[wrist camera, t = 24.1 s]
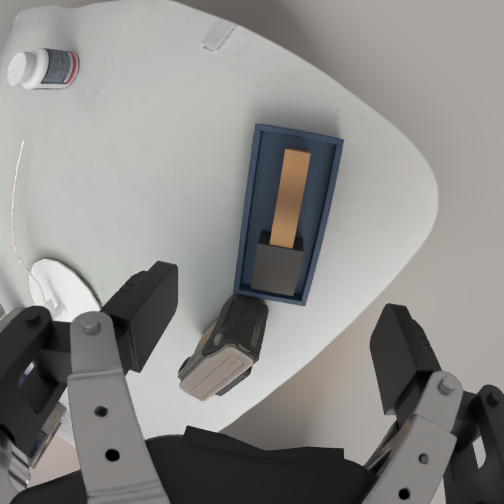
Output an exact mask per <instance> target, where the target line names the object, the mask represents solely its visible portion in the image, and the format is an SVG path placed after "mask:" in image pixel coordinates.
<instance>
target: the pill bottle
mask: <svg viewBox="0 0 504 504" xmlns="http://www.w3.org/2000/svg"><path fill="white" fill-rule="evenodd" d="M77 71H78V58H77V56H76V55H75V54H74V53H72V52H67V51H60V50H54V49H46V48H37V49H35V50H33V51H31V52H19V53H18V54H16V55H15V56H14V58H13V59H12V61H11V63H10V65H9V68H8V73H7V79H8V82H9V84H10V85H18V86H19V85H22V86H23V88H25V89H28V90H38V89H63V88H66V87H67V86H68V85H70V84H71V82H72V81H73V80H74V78H75V76H76V74H77Z"/></svg>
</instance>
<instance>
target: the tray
mask: <svg viewBox="0 0 504 504" xmlns="http://www.w3.org/2000/svg"><path fill="white" fill-rule="evenodd" d="M343 142H344V140H343V139H338V138H334V137H329V136H325V135H320V134H315V133H310V132H304V131H299V130H293V129H288V128H281V127H275V126H268V125H261V124H255V130H254V137H253V144H252V152H251V159H250V166H249V174H248V181H247V188H246V196H245V203H244V211H243V219H242V227H241V234H240V242H239V250H238V258H237V266H236V274H235V282H234V291H233V293H236V294H241V295H246V296H251V297H256V298H262V299H267V300H273V301H278V302H284V303H289V304H295V305H301V306H305V305H306V301H307V298H308V294H309V290H310V287H311V283H312V279H313V276H314V272H315V268H316V264H317V260H318V257H319V253H320V249H321V245H322V240H323V236H324V232H325V228H326V224H327V219H328V215H329V211H330V206H331V202H332V197H333V192H334V188H335V183H336V178H337V173H338V168H339V163H340V158H341V153H342V147H343ZM286 147H292V148H298V149H303V150H308V151H309V152H310V153H311V155H310V161H309V167H308V172H307V178H306V183H305V188H304V194H303V199H302V204H301V209H300V214H299V219H298V224H297V229H296V234H295V236H296V237H301V238H303V247H304V253H303V258H302V262H301V266H300V271H299V275H298V279H297V283H296V287H295V291H294V295H293V296H290V295H285V294H279V293H274V292H268V291H263V290H258V289H252V288H251V282H252V276H253V269H254V263H255V256H256V250H257V244H258V241H259V237H260V234H261V231H262V230H263V231H268V232H272V226H273V221H274V215H275V209H276V203H277V197H278V191H279V185H280V179H281V173H282V167H283V160H284V154H285V149H286Z"/></svg>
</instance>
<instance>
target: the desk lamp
mask: <svg viewBox="0 0 504 504" xmlns="http://www.w3.org/2000/svg"><path fill="white" fill-rule="evenodd" d="M24 142H25V140H23V142H22V146H21V150H20V154H19V159H18V164H17V169H16V175H15V181H14V189H13V199H12V237H13V244H14V248H15V252H16V255H17V258H18V260H19V262H20V264H21V265H22V267H23V268H24V269H25V270H26V271H27V273H28V274H29V282H30V291H31V294H32V297H33V300H34V303H35V306H43V307H46V308H47V309H48V310H49V311H50V313H51V316H52V319H53V321H62V322H72V321H73V320H74V318H76V317H77V316H78V315H80V314H82V313H85V312H89V311H98V312H99V311H100V310H101V308H100V306H99V304H98V303H97V301H96V299H95V297H94V296H93V294H92V292H91V290H90V289H89V288H88V287H87V286H86V285H85V283H84V282H83V281H82V280H81V279H80V278H79V277H78V276H77V274H76V273H75V272H73V271H72V270H70V269H69V268H67V267H66V266H65V265H63V264H62V263H60V262H59V261H54V260H50V259H45V258H44V259H42V260H40V261H38V262H36V263H35V264H34V265H33V267H32V269H31V272H29V271H28V270H27V269H26V268H25V266H24V265H23V264H22V262H21V260H20V258H19V256H18V253H17V249H16V245H15V239H14V226H13V212H14V196H15V187H16V180H17V173H18V168H19V163H20V158H21V154H22V149H23V145H24Z"/></svg>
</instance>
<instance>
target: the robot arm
mask: <svg viewBox="0 0 504 504" xmlns="http://www.w3.org/2000/svg"><path fill="white" fill-rule="evenodd" d="M177 304H178V267H177V265H176V264H171V263H166V262H162V261H157V262H156V263H155V264H154V265H153V266H152V267H151V268H150V269H149V270H148V271H141V272H139V273H137V274H135V275H133V276H131V278H130V279H129V280H128V281H127V282H126V283H125V285H123V286H122V287H121V288H120V289H119V291H117V292H116V293H115V294H114V295H113V297H112V298H111V299H110V300H109V301H108V302H107V303H106V304H105V305H104V306H103V307H102V308H101V310H100V311H99V312H98V311H89V312H85V313H82V314H80V315H78V316H77V317H76V318H74V320H73V321H72V322H62V321H53V319H52V316H51V313H50V311H49V310H48V309H47V308H46V307H43V306H31V307H28V308H26V309H24V310H22V311H21V312H20V313H19V314H18V315H17V316H16V317H15V318H14V319H13V320H12V321H11V322H10V323H9V324H8V325H7V326H6V327H5V328H4V329H3V330H2V331H1V332H0V504H430V502H431V500H432V498H433V496H434V494H435V492H436V490H437V488H438V486H439V484H440V482H441V479H442V477H443V480H444V488H445V497H446V504H504V394H503V393H502V392H501V390H500V389H498V388H497V387H495V386H493V385H484V386H483V387H482V388H481V390H480V391H479V392H478V393H477V394H474V393H470V392H466V391H463V388H462V385H461V383H460V381H459V380H458V379H457V378H456V377H455V376H454V375H452V374H450V373H449V372H445V371H442V369H441V367H440V365H439V363H438V360H437V358H436V356H435V354H434V352H433V349H432V347H430V343H429V341H428V340H427V336H426V335H425V332H424V330H423V328H422V327H421V326H420V325H419V324H418V323H417V322H416V321H415V320H413V319H412V317H411V316H410V313H409V311H408V309H407V307H406V306H403V305H396V304H390V303H389V304H386V305H385V307H384V309H383V311H382V313H381V316H380V318H379V320H378V322H377V324H376V327H375V329H374V331H373V333H372V336H371V340H370V352H371V356H372V360H373V364H374V368H375V373H376V376H377V381H378V386H379V391H380V396H381V400H382V406H383V410H384V415H396V417H397V420H396V421H395V422H394V423H393V425H392V426H391V428H390V429H389V431H388V433H387V434H386V436H385V437H384V439H383V440H382V442H381V443H380V445H379V446H378V448H377V449H376V451H375V452H374V454H373V455H372V456H371V458H370V459H369V460H368V462H367V463H366V464H365V465H364V466H361V465H359V464H357V463H355V462H353V461H350V460H347V459H344V449H343V448H321V447H300V448H291V449H282V450H271V451H266V450H262V449H259V448H257V447H254V446H251V445H249V444H247V443H244V442H242V441H239V440H237V439H235V438H232V437H230V436H228V435H225V434H220V433H216V432H212V431H207V430H203V429H199V428H195V427H192V426H188V425H187V427H186V430H185V433H184V435H179V434H176V435H163V436H157V437H153V438H149V439H147V440H145V439H144V436H143V433H142V430H141V427H140V425H139V422H138V419H137V415H136V412H135V409H134V406H133V403H132V399H131V396H130V393H129V389H128V385H127V382H126V378H125V376H126V374H127V373H128V371H129V370H132V371H135V372H138V373H140V372H141V370H142V369H143V367H144V365H145V363H146V362H147V360H148V358H149V356H150V355H151V353H152V351H153V350H154V348H155V346H156V344H157V343H158V341H159V339H160V338H161V336H162V334H163V332H164V331H165V329H166V327H167V326H168V324H169V322H170V321H171V319H172V317H173V316H174V314H175V311H176V308H177ZM31 362H32V363H33V365H34V368H33V369H32V370H31V372H30V373H29V374H28V376H27V377H26V378H25V380H24V381H23V383H22V384H21V385H20V387H19V386H18V384H19V379H20V377H21V375H22V374H23V373H24V371H25V370H26V369H27V367H28V366H29V365H30V363H31ZM66 387H68V397H69V406H70V414H71V421H72V428H73V434H74V439H75V445H76V450H77V455H78V459H79V464H80V468H81V469H80V470H78V471H75V472H72V473H70V474H67V475H65V476H62V477H59V478H56V479H54V480H51V481H48V482H45V483H42V484H39V485H36V486H33V487H30V488H27V482H29V480H30V478H31V477H30V473H29V462H28V459H27V455H28V453H29V451H30V449H31V447H32V446H33V444H34V442H35V440H36V438H37V436H38V435H39V433H40V431H41V429H42V427H43V426H44V424H45V422H46V420H47V419H48V417H49V415H50V414H51V412H52V410H53V409H54V407H55V405H56V404H57V402H58V400H59V399H60V397H61V395H62V394H63V392H64V391H65V389H66ZM480 436H481V437H482V441H483V445H484V449H485V452H486V459H485V462H484V464H483V466H482V467H480V468H479V469H478V465H477V460H476V457H475V452H474V448H473V444H472V443H473V442H474V441H475V440H476V439H478V437H480Z"/></svg>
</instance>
